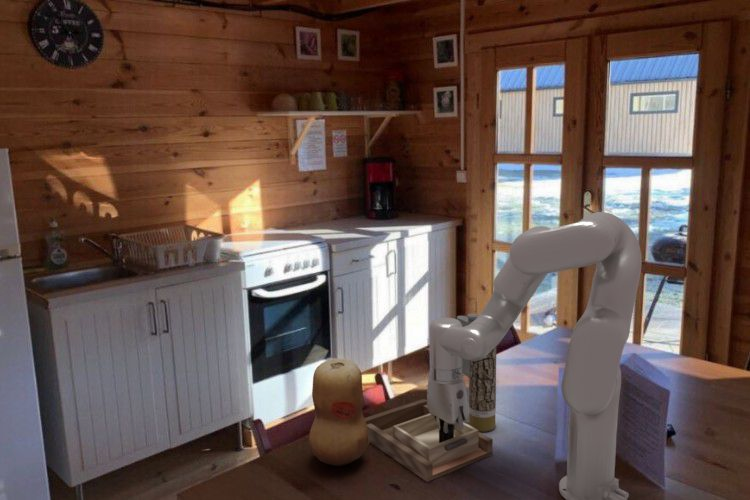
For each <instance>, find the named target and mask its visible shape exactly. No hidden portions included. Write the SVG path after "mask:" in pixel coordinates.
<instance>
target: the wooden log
mask: <svg viewBox="0 0 750 500" xmlns="http://www.w3.org/2000/svg"><path fill="white" fill-rule="evenodd" d="M496 398H497V346H496V347H495V348H494V349H493V350H492V351H491V352H490V353H489V354H488V355H487V356H486V357H485V358H483V359H481V360H478V361H471V360H469V377H468V425H470V426H472V427H474V428H475V429H477V430H479V432H480V433H482V432H483V433H484V432H485V433H486V432H490V431H492V430H494V429H495V427H496V413H497V411H496V408H497V407H496V405H497V403H496V401H497V399H496Z"/></svg>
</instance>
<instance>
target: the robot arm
mask: <svg viewBox="0 0 750 500" xmlns="http://www.w3.org/2000/svg"><path fill="white" fill-rule="evenodd" d="M510 245H511V246H510V247H509V256H508V257H507V260H506V261H505V263H504V264H503V266H502V267H501V269H500V270H499V272H498V273H497V275H495V278H494V280H493V281H492V282H493V283H492V286H493V292H492V295H491V296H490V298H489V300H488V302H487V303H486V304H485V306H484V308H483V309H482V310H481V312H480V313H479V316H478V317H477V319H476V320H474V321H473V322H472V323H471V324H469V325H467V326H464V327H462V324H461V322H460V321H459V320H457V318H454V317H439V318H435V319H434V320H432V321H431V322H430V324H429V328H428V329H429V330H428V331H429V333H428V334H429V336H428V337H429V339H428V340H429V376H428V380H427V382H428V383H427V388H426V390H427V391H426V400H427V407H428V411H429V412H430V414H431V415H432V416H433V417H434V418H435V420H436V422H437V428H438V429H440V430H439V443H441V442H443V441H446V440H449V439H451V438H454V430H461V429H463V428H464V426H463V422H464V421H467V420H469V397H468V391H467V386H466V382H465V380H464V379H463V378H464V374H463V358H464V359H467V360H471V361H478V360H481V359H483V358H485V357H486V356H487V355H488V354H489V353H490V352H491V351H492V350H493V349H494V348H495V347H496V348H497V346H498V345H499V344H500V343H501V342H502V340H503V339H504V338H505V336H506V335H507V333H508V332H509V331H510V329H511V328H512V326H513V325H514V323H515V322H516V320H517V319H518V317H519V316H520V315H521V313H522V311H523V310H524V308H526V307H527V305H528V303H529V302H530V300H531V299H532V297H533V296H534V294H535V293H536V291H537V290H538V288H539V286H540V285H541V284H542V282H543V281H544V279H545V278H546V277H547V275H548V274H552V273H553V274H554V273H558V272H564V271H569V270H574V269H578V268H584V267H589V266H592V265H593V266H594V265H595V271H594V275H593V278H592V281H591V288H590V294H589V297H588V302H587V305H586V307H585V310H584V312H583V314H582V315H581V317H580V318H579V320H578V321H577V323H576V324H575V325H574V327H573V331H572V333H571V337H570V341H569V345H568V349H567V355H566V358H565V359H566V360H565V365H564V367H563V374H562V377H561V378H562V379H561V386H560V387H561V394H562V397H563V400H564V402H565V403H566V404H567V406H568V407H569V412H568V415H569V416H568V433H567V434H568V436H567V437H568V439H567V462H566V465H567V466H566V475H564V476H563V477H562V478H561V479H560V481H559V484H558V490H559V493H560V495H561V496H562V497H563V498H564V499H565V500H628V498H629V496H630V494H629V492H627V491H625V490H623V489H621V488H620V486H619V485H620V484H619V481H620V479H619V478H616V477H615V471H616V470H615V467H616V452H617V432H618V431H617V430H618V419H619V418H618V417H619V416H618V415H619V407H620V406H619V404H620V394H621V389H622V388H621V387H622V386H621V385H622V371H621V367H620V365H621V360H622V359H621V358H622V356H623V351H624V348H625V345H626V343H627V342H628V339H629V338H630V337H629V336H630V332H631V324H632V319H633V318H632V317H633V313H634V308H635V304H636V300H637V295H638V288H639V283H640V279H641V273H642V266H643V265H642V260H643V259H642V251H641V246H640V243H639V240H638V237H637V236H636V234H635V233H634V231H633V229H632V228H631V227H630V226H629V225H628V224H627V223H626V222H625V221H624V220H622V219H621V218H620V217H618V216H617V215H615V214H613V213H610V212H606V211H605V212H604V211H597V212H593V213H590V214H588V215H586V216H584V217H582V219H580V220H579V221H577V222H573V223H569V224H566V225H565V224H564V225H561V226H560V225H559V226H556V227H553V228H552V227H548V226H544V225H537V226H533V227H531V228H528V229H527V230H526V231H524V232H522V233H520V234H519V235H518V236H516V238H515V239H513V242H512V243H511V244H510ZM449 424H450V425H449Z"/></svg>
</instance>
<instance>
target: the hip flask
mask: <svg viewBox="0 0 750 500" xmlns="http://www.w3.org/2000/svg"><path fill="white" fill-rule="evenodd" d="M479 315H480V313H479V314H478V313H468V314H467V316H466V315H457V316H456V319H457V320H459V321H460V322H461V324H462V327H464V326H467V325H469V324H471V323H472V322H473V321H474V320H476V319H477V317H478V316H479ZM463 375H465V376H466V377H468V378H469V360H467V359H464V358H463Z"/></svg>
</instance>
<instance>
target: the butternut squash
mask: <svg viewBox="0 0 750 500" xmlns="http://www.w3.org/2000/svg"><path fill="white" fill-rule="evenodd" d="M363 391H364V390H363V375H362V372H361V370H360V367H359V366H358V365H357V364H356V363H355V362H353V360H351V359H347V358H338V357H337V358H335V357H334V358H329V359H327V360H325V361H323V362H322V363H321V364H319V365H318V366H317V367H316V368H315V370H314V372H313V377H312V389H311V392H312V393H311V395H312V402H313V407H314V408H313V409H314V419H313V422H312V425H311V428H310V431H309V436H308V442H309V443H308V444H309V448H310V450H311V452H312V454H313V455H314V456H315V457H316V458H317V459H318V460H319V461H320V462H321V463H324V464H327V465H331V466H335V467H343V466H345V465H349V464H351V463H353V462H354V461H356V460H358V459H360V458H361V456H362V455H364V454H366V449H367V447H368V446H369V444H370V442H369V438H368V429H367V424H366V421H365V419H364V418H365V416H364V414H363V408H364V405H365V402H366V401H365V397H364V394H363Z"/></svg>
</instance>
